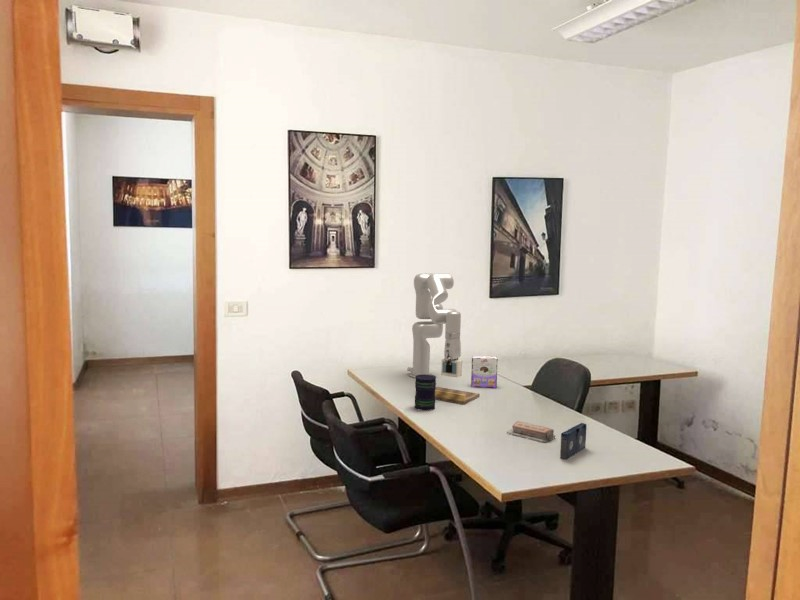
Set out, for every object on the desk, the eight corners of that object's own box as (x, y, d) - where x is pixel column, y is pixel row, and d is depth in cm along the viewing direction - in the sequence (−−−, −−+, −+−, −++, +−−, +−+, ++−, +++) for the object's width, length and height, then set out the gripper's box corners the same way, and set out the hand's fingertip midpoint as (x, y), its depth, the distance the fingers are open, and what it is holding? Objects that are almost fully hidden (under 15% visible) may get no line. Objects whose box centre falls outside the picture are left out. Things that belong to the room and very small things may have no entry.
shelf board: (421, 396, 327) (421, 388, 327) (437, 389, 343) (438, 381, 342) (464, 404, 315) (464, 395, 314) (479, 396, 330) (479, 388, 330)
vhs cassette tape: (579, 446, 259) (581, 422, 258) (586, 448, 257) (588, 424, 256) (558, 458, 245) (559, 432, 244) (565, 460, 243) (567, 434, 242)
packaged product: (556, 427, 269) (545, 432, 261) (556, 438, 269) (545, 444, 261) (518, 418, 280) (506, 423, 272) (517, 429, 280) (506, 434, 273)
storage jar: (436, 410, 303) (437, 379, 302) (415, 410, 303) (416, 379, 301) (434, 404, 313) (435, 374, 312) (413, 404, 313) (414, 374, 311)
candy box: (496, 385, 354) (497, 356, 352) (496, 388, 348) (498, 358, 346) (470, 384, 355) (471, 355, 354) (470, 387, 350) (472, 357, 348)
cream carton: (457, 377, 323) (457, 361, 322) (441, 375, 327) (441, 359, 327) (461, 375, 327) (462, 360, 326) (445, 373, 332) (446, 358, 331)
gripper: (451, 338, 316) (450, 375, 318) (466, 334, 331) (465, 369, 333) (438, 337, 320) (436, 373, 322) (453, 332, 334) (452, 367, 336)
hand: (451, 371), depth 327 cm, fingers closed on cream carton, 5 cm apart
